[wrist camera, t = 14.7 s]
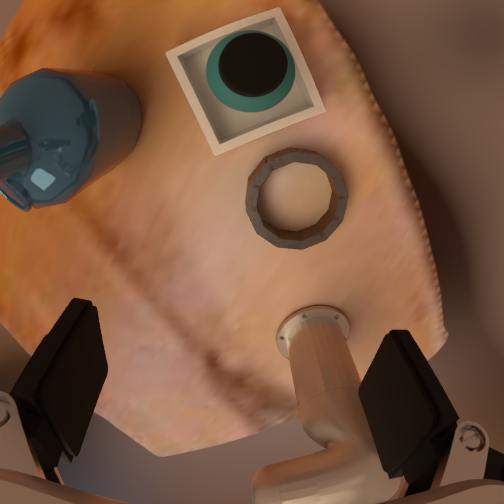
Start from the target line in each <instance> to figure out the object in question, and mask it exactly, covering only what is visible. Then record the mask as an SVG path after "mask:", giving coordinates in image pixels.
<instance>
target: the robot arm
mask: <svg viewBox="0 0 504 504" xmlns="http://www.w3.org/2000/svg"><path fill="white" fill-rule="evenodd" d="M349 334H350V326H349V323H348V320H347V319H346V317H345V315H344V314H343V313H342V312H340V311H339V310H337V309H335V308H332V307H329V306H312V307H307V308H304V309H301V310H299V311H297V312H295V313H293V314H292V315H290V316H289V317H288V318H287V319H286V320H285V321H284V322H283V323H282V324H281V326H280V327H279V329H278V332H277V336H276V341H277V347H278V350H279V351H280V353H281V354H282V355H283V356H284V357H285V358H287V359H288V360H289V361H290V366H291V372H292V377H293V383H294V388H295V393H296V399H297V404H298V410H299V415H300V420H301V424H302V427H303V429H304V431H305V433H306V434H307V435H308V436H309V437H310V438H311V439H312V440H313V441H315V442H316V443H318V444H319V445H321V446H322V447H324V448H326V449H324V450H321V451H318V452H315V453H314V454H310V455H306V456H302V457H299V458H295V459H291V460H286V461H282V462H278V463H274V464H270V465H267V466H265V467H263V468H261V469H260V470H258V471H257V472H256V473H255V475H254V477H253V480H252V497H253V502H254V504H504V454H502V453H500V452H498V451H496V450H494V449H492V448H490V447H489V438H488V435H487V433H486V431H485V430H484V429H483V428H482V427H481V426H480V425H479V424H477V423H475V422H472V421H465V422H462V423H460V424H459V425H457V423H456V421H457V420H458V419H459V417H458V415H457V413H456V411H455V409H454V407H453V406H452V404H451V402H450V400H449V398H448V397H447V395H446V393H445V391H444V389H443V387H442V386H441V384H440V382H439V380H438V379H437V377H436V375H435V374H434V372H433V370H432V368H431V367H430V365H429V363H428V362H427V360H426V358H425V357H424V355H423V353H422V352H421V350H420V348H419V347H418V345H417V343H416V342H415V340H414V339H413V337H412V335H411V334H410V332H409V331H408V330H391V331H390V332H389V334H386V335H385V337H384V339H383V341H382V343H381V345H380V347H379V349H378V351H377V353H376V355H375V357H374V359H373V361H372V363H371V365H370V367H369V369H368V371H367V373H366V375H365V377H364V378H363V380H362V382H361V379H360V377H359V374H358V371H357V369H356V366H355V364H354V361H353V358H352V356H351V353H350V351H349V348H348V345H347V343H346V342H347V340H348V338H349ZM107 373H108V364H107V360H106V355H105V350H104V345H103V340H102V334H101V329H100V323H99V317H98V311H97V307H96V306H93V305H92V302H91V301H90V300H84V299H79V298H73V299H72V300H71V302H70V303H69V305H68V306H67V307H66V309H65V310H64V312H63V313H62V315H61V316H60V317H59V319H58V320H57V322H56V323H55V325H54V326H53V328H52V329H51V331H50V332H49V334H47V335H46V336H45V337H44V338H43V340H42V341H41V343H40V344H39V346H38V347H37V349H36V350H35V352H34V354H33V355H32V357H31V359H30V360H29V362H28V363H27V365H26V367H25V368H24V370H23V372H22V373H21V375H20V377H19V378H18V380H17V382H16V383H15V385H14V387H13V389H12V390H11V393H10V394H6V393H5V392H1V391H0V504H131V503H127V502H122V501H118V500H114V499H110V498H106V497H102V496H97V495H94V494H91V493H87V492H84V491H80V490H77V489H74V488H71V487H67V486H65V485H64V483H63V481H62V479H61V477H60V475H59V472H58V470H57V468H56V467H57V466H58V463H59V460H60V459H61V460H64V461H67V462H69V463H71V462H72V459H73V456H78V454H79V452H80V450H81V446H82V443H83V440H84V437H85V434H86V431H87V428H88V426H89V422H90V420H91V417H92V414H93V411H94V409H95V406H96V403H97V400H98V398H99V395H100V392H101V390H102V387H103V384H104V382H105V379H106V377H107ZM403 475H404V477H405V480H406V481H405V483H404V486H403V488H402V490H401V492H400V494H399V496H398V498H397V499H394V500H390V501H387V500H388V499H390V498H391V497H392V496H393V495H394V494H395V492H396V491H397V490H398V488H399V486H400V482H401V477H402V476H403ZM385 501H386V502H385Z"/></svg>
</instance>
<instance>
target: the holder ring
mask: <svg viewBox="0 0 504 504" xmlns="http://www.w3.org/2000/svg"><path fill="white" fill-rule="evenodd" d="M293 162H299V163H306V164H313V165H317V166H318V167H319V168H321V169H322V170H323V171H324V172H325V173H326V174H327V177H328V179H329V182H330V185H331V188H332V195H331V200H330V204H329V209H328V211H327V212H326V213H325V214H324V215H323V216H322V218H321V219H320V220H319V221H318V222H317V223H316V224H315V225H313V226H310V227H308V228H305V229H303V230H300V231H298V232H297V231H287V230H278V229H277V228H275V227H274V226H272V225H271V224H269V223H268V222H267V221H265V220H264V219H263V218H262V216H261V214H260V212H259V210H258V207H257V199H258V192H259V187H260V186H261V185H262V184H263V182H264V181H265V180H266V179H267V177H268V176H269V175H270V173H271V172H272V171H273V170H275V169H278V168H280V167H282V166H285V165H287V164H290V163H293ZM347 201H348V194H347V191H346V187H345V184H344V181H343V178H342V175H341V173H340V172H339V171H338V170H337V169H336V168H335V167H334V166H332V165H331V164H330V163H329V162H328V161H326V160H325V159H324V158H323V157H322V156H320V155H319V154H318V153H316V152H315V151H310V150H303V149H296V148H286V149H284V150H281V151H279V152H276V153H274V154H271V155H269V156H266V157H265V158H263V160H262V161H261V162H260V163H259V165H258V166H257V167H256V169H255V170H254V171H253V172H252V174H251V175H250V176H249V179H248V184H247V192H246V200H245V205H246V212H247V214H248V216H249V218H250V220H251V223H252V225H253V227H254V229H255V231H256V233H257V234H258V235H260V236H261V237H263V238H264V239H265V240H267V241H268V242H270V243H271V244H273V245H274V246H276V247H278V248H289V249H301V250H302V249H305V248H308V247H310V246H313V245H315V244H318V243H320V242H323V241H325V239H326V240H327V238H328V237H329V236H330V235H331V234H332V233H333V232H334V231H335V229H336V228H337V227H338V226H339V225H340V224H341V223H342V221H343V218H344V214H345V209H346V205H347Z"/></svg>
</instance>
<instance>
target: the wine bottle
mask: <svg viewBox="0 0 504 504" xmlns="http://www.w3.org/2000/svg"><path fill="white" fill-rule="evenodd" d="M141 128H142V121H141V113H140V106H139V99H138V97H137V96H136V95H135V94H134V92H133V91H132V90H131V89H130V87H129V86H128V85H127V84H126V82H125V81H124V80H123V79H121V78H118V77H115V76H111V75H108V74H104V73H101V72H94V71H84V70H73V69H60V68H41V69H39V70H37V71H35V72H32V73H30V74H28V75H26V76H24V77H22V78H19V79H17V80H15V81H14V82H12V83H11V84H10V85H9V86H8V88H7V89H6V90H5V92H4V93H3V95H2V96H1V98H0V193H1V194H2V195H3V196H4V197H5V198H7V199H8V200H9V201H10V202H11V203H12V204H14V205H15V206H17V207H18V208H19V209H21V210H23V211H25V212H28V211H30V210H31V208H32V207H33V208H35V209H39V208H43V207H48V206H53V205H57V204H62V203H66V202H68V201H69V200H71V199H72V198H73V197H75V196H76V195H77V194H79V193H80V192H81V191H83V190H84V189H86V188H87V187H88V186H90V185H91V184H92V183H94V182H95V181H97V180H98V179H100V178H101V177H102V176H104V175H105V174H107V173H108V172H110V171H111V170H113V169H114V168H115V167H116V166H117V165H118V164H119V163H121V162H122V161H123V160H124V159H125V158H126V157H127V156H128V155H129V154H131V153H132V152H133V150H134V147H135V144H136V141H137V138H138V136H139V133H140V130H141Z"/></svg>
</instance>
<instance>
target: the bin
mask: <svg viewBox="0 0 504 504" xmlns="http://www.w3.org/2000/svg"><path fill="white" fill-rule="evenodd" d="M244 30H257V31H262V32H265V33H268V34H270V35H273V36H274V37H276V38H277V39H279V40H280V41H281V42H282V43H283V44H284V45H285V46H286V47H287V48H288V50H289V51H290V53H291V55H292V57H293V60H294V63H295V80H294V83H293V86H292V88H291V90H290V92H289V93H288V95H287V96H286V97H285V98H284V99H283V100H282V101H281V102H280V103H279V104H277V105H276V106H274V107H272V108H270V109H268V110H265V111H261V112H252V113H250V112H241V111H237V110H234V109H232V108H229V107H228V106H226V105H224V104H223V103H222V102H220V101H219V100H218V99H217V98H216V97H215V95H214V94H213V93H212V91H211V89H210V87H209V85H208V82H207V77H206V64H207V60H208V57H209V55H210V53H211V51H212V50H213V48H214V47H215V46H216V45H217V44H218V43H219V42H220V41H221V40H222V39H223V38H225V37H227V36H228V35H230V34H233V33H236V32H239V31H244ZM165 54H166V56H167V58H168V61H169V63H170V65H171V67H172V69H173V71H174V73H175V75H176V77H177V79H178V81H179V83H180V85H181V87H182V89H183V91H184V93H185V95H186V98H187V100H188V102H189V104H190V106H191V108H192V110H193V112H194V114H195V116H196V118H197V120H198V122H199V124H200V127H201V129H202V131H203V133H204V135H205V137H206V139H207V141H208V143H209V145H210V147H211V149H212V151H213V154H214V156H217V155H220V154H222V153H224V152H226V151H229V150H231V149H233V148H235V147H238V146H240V145H242V144H245V143H247V142H250V141H252V140H254V139H257V138H259V137H262V136H264V135H267V134H269V133H272V132H274V131H277V130H279V129H282V128H284V127H287V126H289V125H292V124H295V123H297V122H300V121H303V120H305V119H308V118H311V117H314V116H317V115H319V114H322V113H325V112H326V110H325V108H324V105H323V103H322V100H321V98H320V95H319V93H318V90H317V88H316V85H315V83H314V80H313V78H312V76H311V73H310V71H309V68H308V66H307V64H306V62H305V59H304V57H303V55H302V53H301V50H300V48H299V46H298V44H297V42H296V39H295V37H294V35H293V33H292V31H291V29H290V27H289V25H288V23H287V21H286V19H285V17H284V15H283V13H282V11H281V9H280V7H278V8H274V9H271V10H268V11H265V12H262V13H259V14H256V15H253V16H250V17H247V18H244V19H241V20H239V21H236V22H233V23H231V24H228V25H225V26H223V27H220V28H218V29H215V30H213V31H211V32H208V33H206V34H204V35H201V36H199V37H197V38H195V39H192V40H190V41H188V42H186V43H184V44H182V45H180V46H178V47H175V48H173V49H171V50H169V51H167V52H165Z"/></svg>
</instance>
